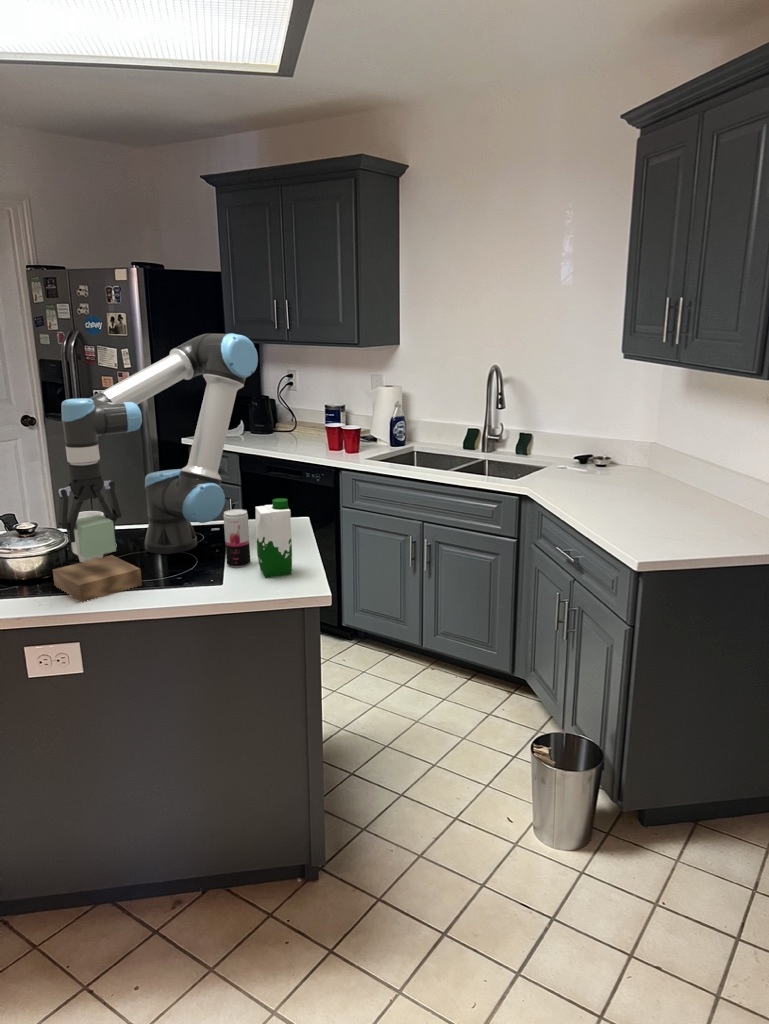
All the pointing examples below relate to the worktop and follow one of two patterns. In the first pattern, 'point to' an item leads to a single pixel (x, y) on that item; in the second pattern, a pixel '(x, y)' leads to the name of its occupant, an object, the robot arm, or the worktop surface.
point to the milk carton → (274, 538)
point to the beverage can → (237, 538)
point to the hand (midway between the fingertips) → (93, 549)
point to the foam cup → (84, 515)
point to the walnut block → (97, 578)
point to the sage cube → (95, 536)
